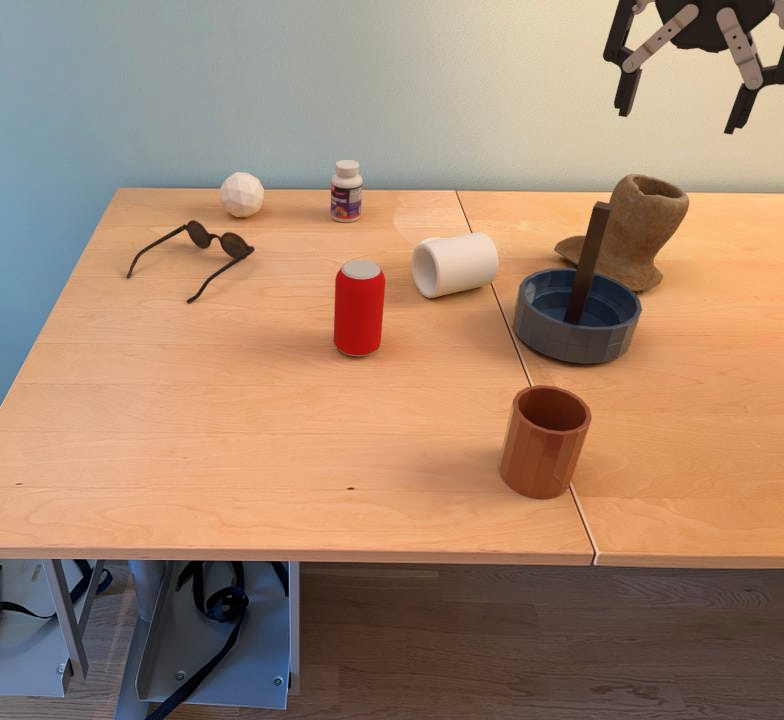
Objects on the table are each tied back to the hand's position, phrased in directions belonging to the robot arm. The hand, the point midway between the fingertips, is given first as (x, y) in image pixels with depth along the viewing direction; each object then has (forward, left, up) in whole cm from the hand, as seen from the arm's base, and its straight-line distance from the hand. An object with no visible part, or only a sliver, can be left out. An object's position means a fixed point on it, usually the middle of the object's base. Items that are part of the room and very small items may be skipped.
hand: (675, 122), depth 61 cm
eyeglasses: (+61, -2, -34) cm, 70 cm away
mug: (+26, -20, -34) cm, 47 cm away
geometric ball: (+66, -23, -34) cm, 78 cm away
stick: (+6, -16, -33) cm, 37 cm away
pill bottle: (+50, -32, -34) cm, 69 cm away
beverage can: (+29, +2, -34) cm, 45 cm away
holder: (+2, +12, -34) cm, 36 cm away
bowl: (+6, -16, -34) cm, 38 cm away
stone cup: (+5, -37, -34) cm, 51 cm away
